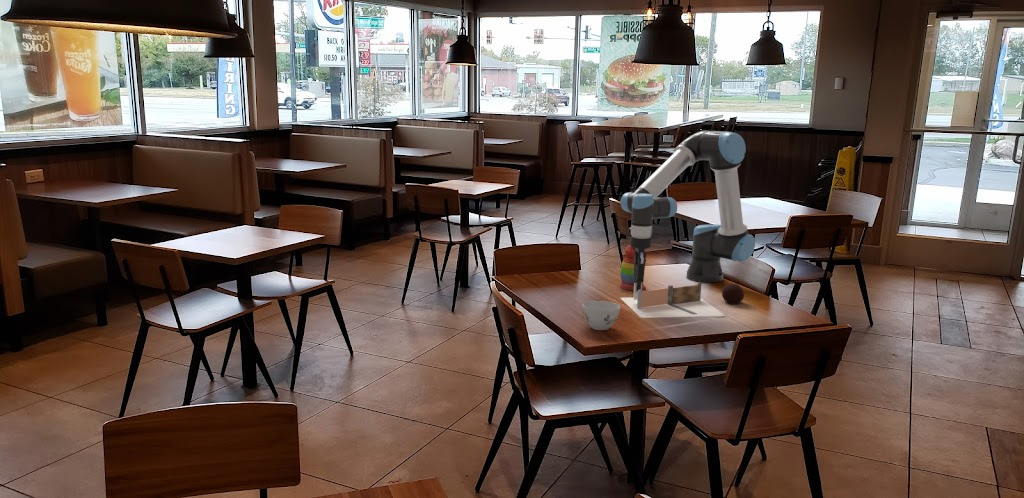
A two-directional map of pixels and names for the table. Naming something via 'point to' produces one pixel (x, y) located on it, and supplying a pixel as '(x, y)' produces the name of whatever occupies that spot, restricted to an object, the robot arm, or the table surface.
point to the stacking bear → (628, 270)
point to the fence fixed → (683, 293)
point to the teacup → (600, 314)
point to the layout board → (675, 309)
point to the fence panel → (652, 297)
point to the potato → (733, 293)
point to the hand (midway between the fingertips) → (637, 299)
